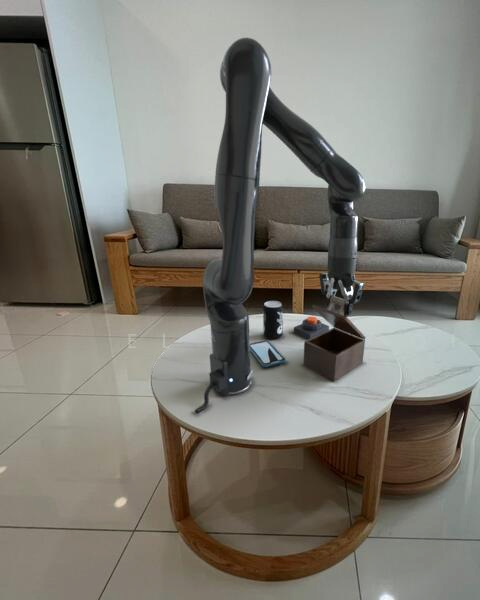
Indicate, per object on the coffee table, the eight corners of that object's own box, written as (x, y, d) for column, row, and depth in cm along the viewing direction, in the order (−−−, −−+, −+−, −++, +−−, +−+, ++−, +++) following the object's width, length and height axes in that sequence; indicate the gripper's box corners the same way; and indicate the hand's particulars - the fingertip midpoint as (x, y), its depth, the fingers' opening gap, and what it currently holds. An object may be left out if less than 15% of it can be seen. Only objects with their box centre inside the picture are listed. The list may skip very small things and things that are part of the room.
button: (312, 326, 111) (312, 321, 111) (304, 322, 114) (304, 318, 113) (318, 323, 114) (319, 318, 113) (311, 320, 116) (311, 315, 116)
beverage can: (273, 342, 107) (273, 309, 103) (259, 336, 111) (258, 304, 107) (286, 335, 112) (286, 303, 108) (272, 330, 116) (272, 299, 112)
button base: (310, 340, 109) (310, 329, 108) (293, 332, 114) (293, 322, 113) (328, 331, 116) (329, 321, 115) (312, 324, 121) (312, 314, 120)
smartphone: (267, 339, 107) (286, 360, 95) (267, 342, 107) (286, 362, 95) (246, 344, 104) (263, 365, 91) (246, 346, 104) (263, 368, 92)
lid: (344, 319, 83) (355, 300, 84) (311, 306, 90) (321, 289, 91) (364, 339, 93) (373, 322, 95) (333, 327, 101) (342, 311, 102)
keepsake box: (334, 381, 87) (336, 356, 84) (303, 365, 94) (304, 341, 92) (362, 363, 96) (365, 340, 94) (332, 349, 104) (334, 327, 101)
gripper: (312, 251, 86) (311, 309, 92) (356, 260, 77) (352, 324, 83) (330, 247, 91) (328, 302, 97) (373, 255, 82) (368, 316, 88)
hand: (339, 312), depth 90 cm, fingers closed on lid, 5 cm apart
